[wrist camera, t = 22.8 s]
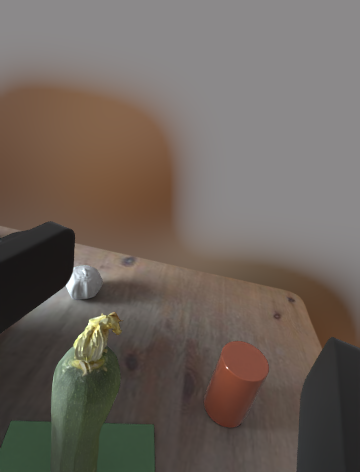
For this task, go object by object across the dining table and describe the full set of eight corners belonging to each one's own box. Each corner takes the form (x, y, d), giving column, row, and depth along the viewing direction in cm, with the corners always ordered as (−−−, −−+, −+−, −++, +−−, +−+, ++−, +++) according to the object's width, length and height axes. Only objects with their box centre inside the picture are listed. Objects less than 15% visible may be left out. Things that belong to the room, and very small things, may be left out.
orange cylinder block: (252, 404, 38) (275, 359, 34) (235, 438, 34) (258, 391, 30) (216, 378, 40) (233, 333, 36) (195, 407, 36) (213, 359, 32)
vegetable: (37, 485, 26) (36, 302, 17) (78, 444, 30) (96, 273, 20) (71, 528, 24) (92, 348, 15) (112, 478, 28) (148, 307, 19)
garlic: (94, 310, 46) (97, 282, 44) (58, 302, 46) (59, 273, 43) (105, 285, 51) (108, 259, 49) (73, 279, 51) (74, 252, 49)
